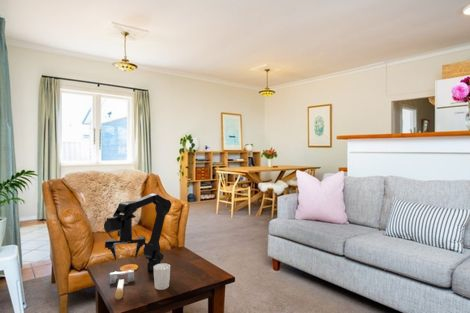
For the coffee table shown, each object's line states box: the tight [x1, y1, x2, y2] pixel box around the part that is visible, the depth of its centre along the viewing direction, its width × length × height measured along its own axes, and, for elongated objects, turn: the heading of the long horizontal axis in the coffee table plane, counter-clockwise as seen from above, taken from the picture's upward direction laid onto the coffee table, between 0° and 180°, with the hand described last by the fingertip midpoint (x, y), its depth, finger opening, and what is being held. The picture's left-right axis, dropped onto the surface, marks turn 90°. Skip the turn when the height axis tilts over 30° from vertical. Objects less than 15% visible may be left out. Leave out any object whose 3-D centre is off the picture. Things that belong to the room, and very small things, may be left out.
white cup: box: [153, 262, 171, 291], centre depth 146 cm, size 8×8×10 cm
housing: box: [109, 269, 135, 285], centre depth 154 cm, size 11×6×5 cm, turn 106°
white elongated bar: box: [114, 278, 125, 301], centre depth 141 cm, size 16×3×3 cm, turn 17°
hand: (125, 259), depth 150 cm, fingers open, 9 cm apart
